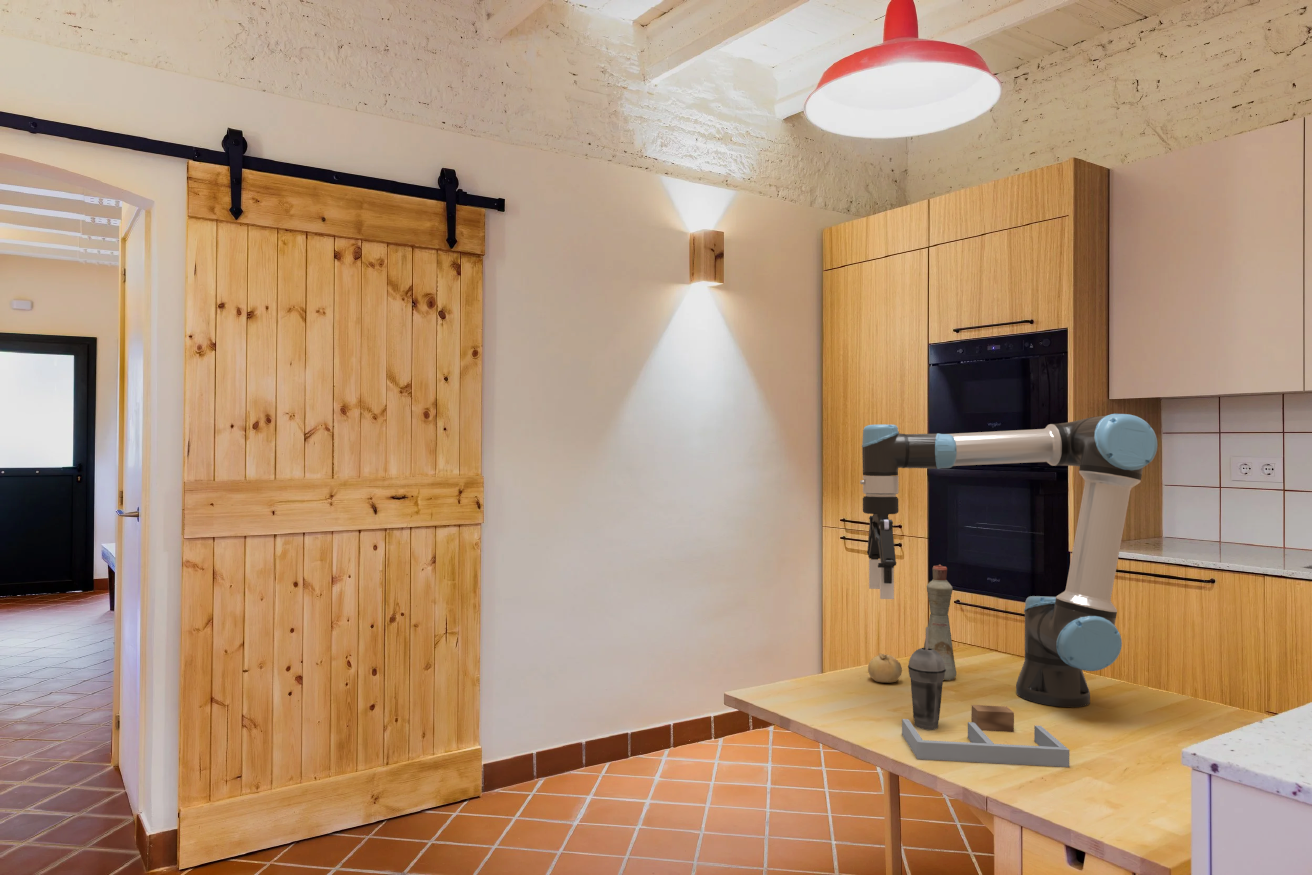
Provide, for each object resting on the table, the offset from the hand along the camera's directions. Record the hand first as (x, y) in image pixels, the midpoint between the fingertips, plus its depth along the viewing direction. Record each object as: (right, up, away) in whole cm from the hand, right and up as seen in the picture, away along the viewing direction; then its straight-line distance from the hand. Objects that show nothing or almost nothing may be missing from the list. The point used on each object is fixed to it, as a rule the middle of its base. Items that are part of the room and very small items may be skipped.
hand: (881, 593), depth 174 cm
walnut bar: (+19, -25, -13) cm, 34 cm away
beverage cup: (+6, -25, -12) cm, 28 cm away
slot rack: (+12, -24, -25) cm, 36 cm away
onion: (+7, -26, +21) cm, 34 cm away
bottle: (+21, -26, +25) cm, 42 cm away
